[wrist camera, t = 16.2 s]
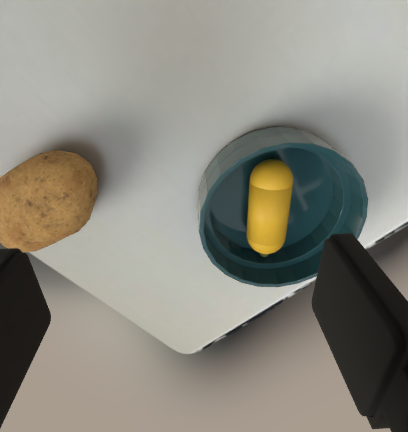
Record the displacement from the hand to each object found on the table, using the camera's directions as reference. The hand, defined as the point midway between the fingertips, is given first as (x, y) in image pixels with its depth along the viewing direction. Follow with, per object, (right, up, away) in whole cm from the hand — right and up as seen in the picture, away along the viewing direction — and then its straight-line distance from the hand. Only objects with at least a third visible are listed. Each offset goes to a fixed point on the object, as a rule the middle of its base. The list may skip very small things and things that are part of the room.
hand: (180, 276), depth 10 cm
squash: (+9, +4, +30) cm, 32 cm away
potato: (-17, +6, +29) cm, 34 cm away
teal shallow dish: (+9, +4, +31) cm, 33 cm away
